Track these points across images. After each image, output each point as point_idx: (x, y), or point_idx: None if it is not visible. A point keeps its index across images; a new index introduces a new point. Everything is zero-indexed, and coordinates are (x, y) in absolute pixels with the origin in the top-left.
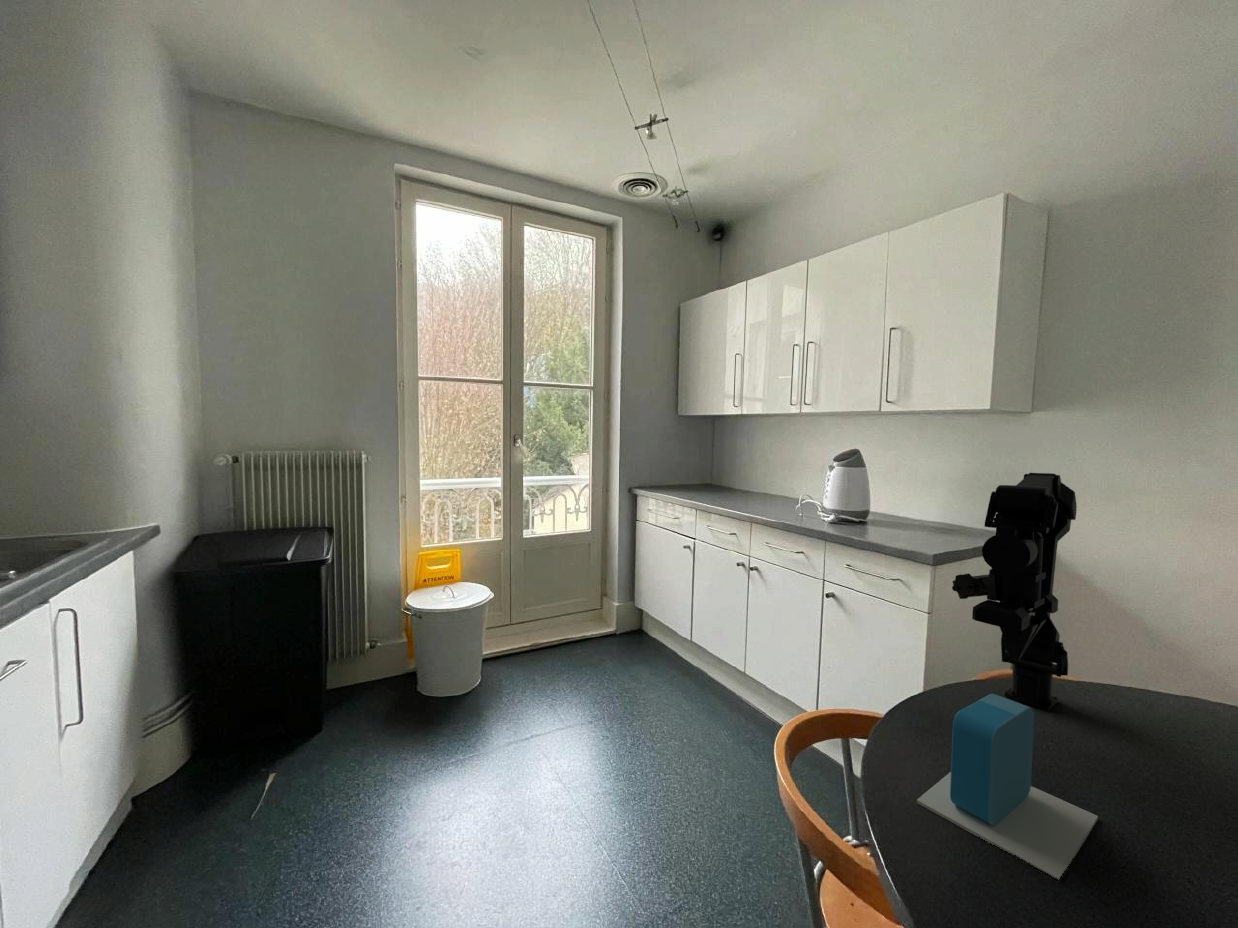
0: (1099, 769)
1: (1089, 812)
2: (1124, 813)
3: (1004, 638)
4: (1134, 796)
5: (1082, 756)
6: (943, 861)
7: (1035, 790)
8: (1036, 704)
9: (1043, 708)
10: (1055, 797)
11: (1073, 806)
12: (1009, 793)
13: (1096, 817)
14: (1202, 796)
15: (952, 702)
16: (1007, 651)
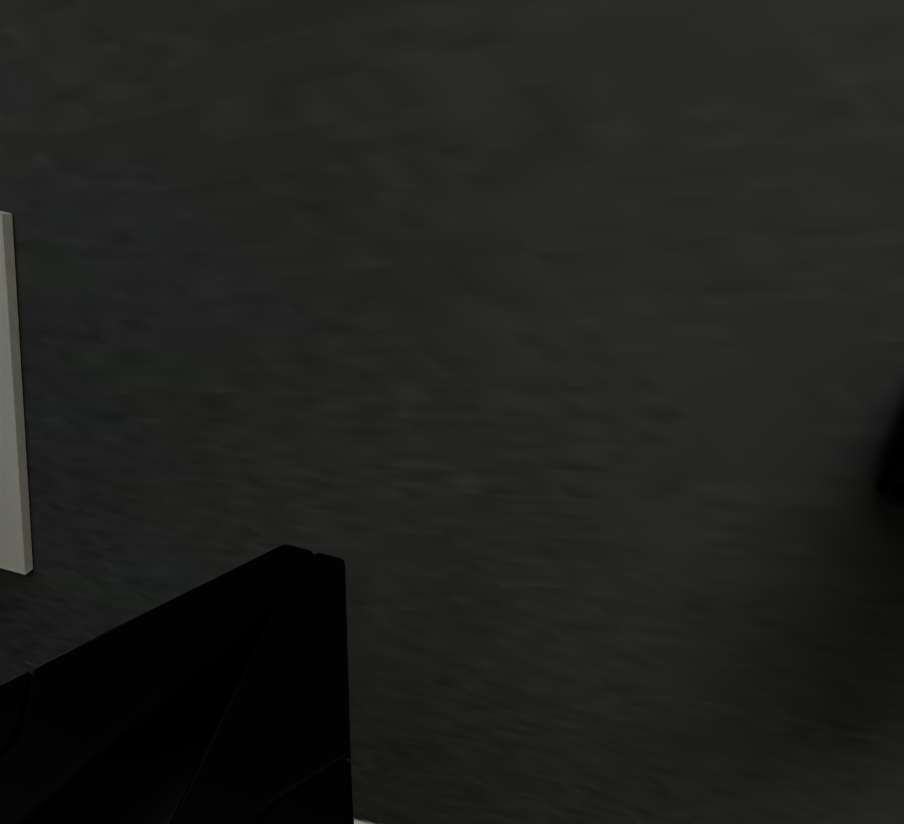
0: (372, 608)
1: (25, 557)
2: None
3: (16, 688)
4: None
5: (437, 574)
6: None
7: (3, 436)
8: (902, 453)
9: (881, 478)
10: (18, 486)
11: (15, 525)
12: None
13: (13, 570)
14: (427, 801)
15: (633, 20)
16: (224, 574)
